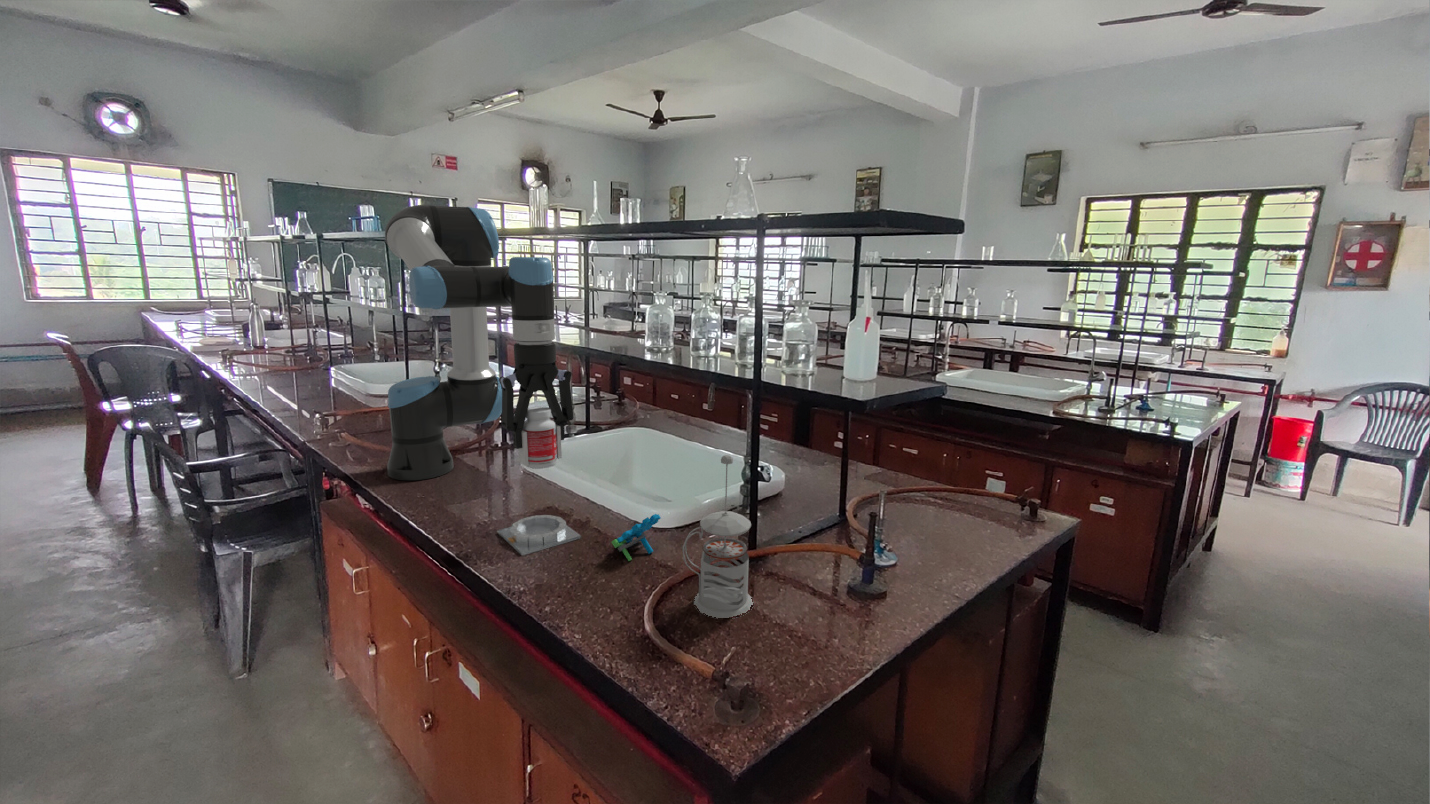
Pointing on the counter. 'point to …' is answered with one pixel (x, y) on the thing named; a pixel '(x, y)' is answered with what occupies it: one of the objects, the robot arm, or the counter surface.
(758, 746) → the counter surface
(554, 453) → the pill bottle
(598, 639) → the counter surface
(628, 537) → the blue knobbed piece
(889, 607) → the counter surface
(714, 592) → the french press
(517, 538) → the duct flange
